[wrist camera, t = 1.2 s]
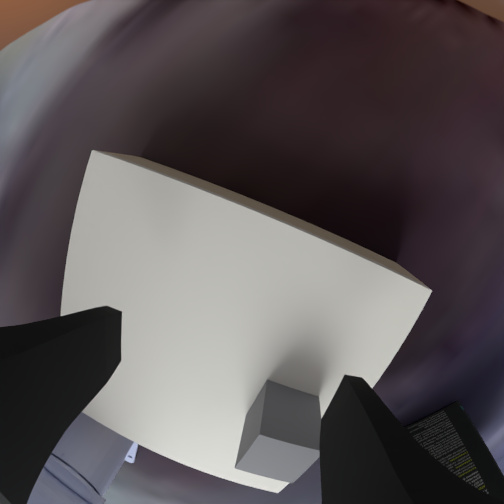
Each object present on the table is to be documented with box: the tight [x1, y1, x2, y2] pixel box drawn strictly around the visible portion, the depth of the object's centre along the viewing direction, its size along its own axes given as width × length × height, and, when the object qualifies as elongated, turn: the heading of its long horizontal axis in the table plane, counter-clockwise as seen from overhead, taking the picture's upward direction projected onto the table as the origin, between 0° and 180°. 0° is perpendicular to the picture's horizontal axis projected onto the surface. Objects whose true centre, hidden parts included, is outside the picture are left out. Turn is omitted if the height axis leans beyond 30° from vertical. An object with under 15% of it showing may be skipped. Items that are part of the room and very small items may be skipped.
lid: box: [61, 150, 432, 493], centre depth 13 cm, size 18×18×5 cm
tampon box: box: [404, 401, 504, 501], centre depth 14 cm, size 11×9×15 cm
